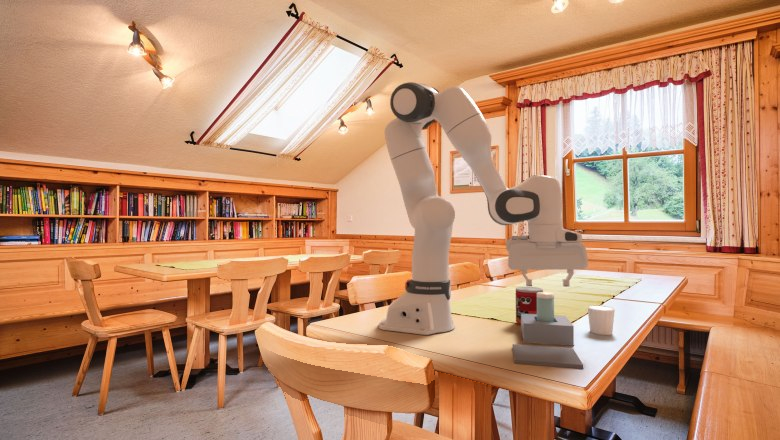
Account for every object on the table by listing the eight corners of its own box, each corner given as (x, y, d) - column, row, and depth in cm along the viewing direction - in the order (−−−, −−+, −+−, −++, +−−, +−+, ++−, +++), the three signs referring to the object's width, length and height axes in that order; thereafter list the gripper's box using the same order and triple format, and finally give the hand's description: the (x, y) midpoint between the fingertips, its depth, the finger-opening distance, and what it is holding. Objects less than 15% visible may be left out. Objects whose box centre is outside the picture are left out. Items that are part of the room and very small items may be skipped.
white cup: (583, 329, 120) (583, 305, 120) (607, 329, 120) (607, 305, 120) (594, 335, 113) (594, 310, 113) (619, 335, 113) (619, 310, 113)
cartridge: (537, 339, 109) (537, 294, 109) (536, 335, 114) (535, 291, 114) (555, 340, 108) (555, 295, 108) (553, 336, 112) (552, 292, 113)
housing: (523, 342, 107) (523, 323, 107) (521, 330, 118) (520, 313, 118) (573, 345, 104) (573, 326, 104) (565, 333, 115) (565, 315, 115)
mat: (514, 363, 91) (514, 359, 91) (512, 347, 102) (512, 344, 102) (583, 368, 87) (583, 364, 87) (573, 351, 99) (572, 348, 99)
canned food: (511, 321, 129) (511, 286, 130) (536, 320, 130) (535, 286, 130) (522, 327, 122) (522, 290, 122) (547, 326, 123) (547, 290, 123)
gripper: (506, 236, 111) (507, 287, 110) (588, 234, 105) (590, 288, 105) (505, 235, 117) (507, 284, 117) (583, 233, 111) (585, 284, 111)
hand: (547, 286), depth 111 cm, fingers open, 8 cm apart
